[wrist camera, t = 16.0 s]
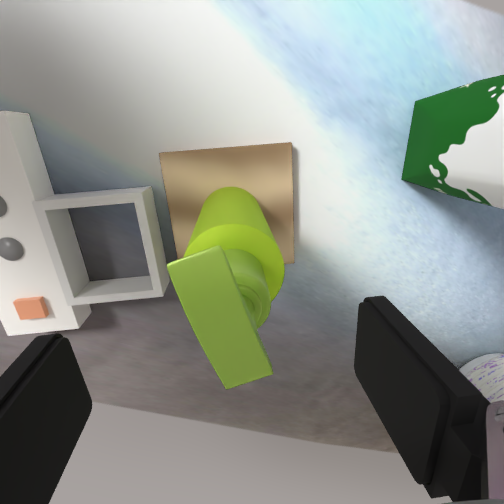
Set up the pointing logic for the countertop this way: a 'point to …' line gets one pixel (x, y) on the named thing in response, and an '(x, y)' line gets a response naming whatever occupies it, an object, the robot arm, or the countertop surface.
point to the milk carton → (460, 142)
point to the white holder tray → (58, 241)
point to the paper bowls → (487, 375)
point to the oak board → (231, 175)
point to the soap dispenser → (230, 284)
